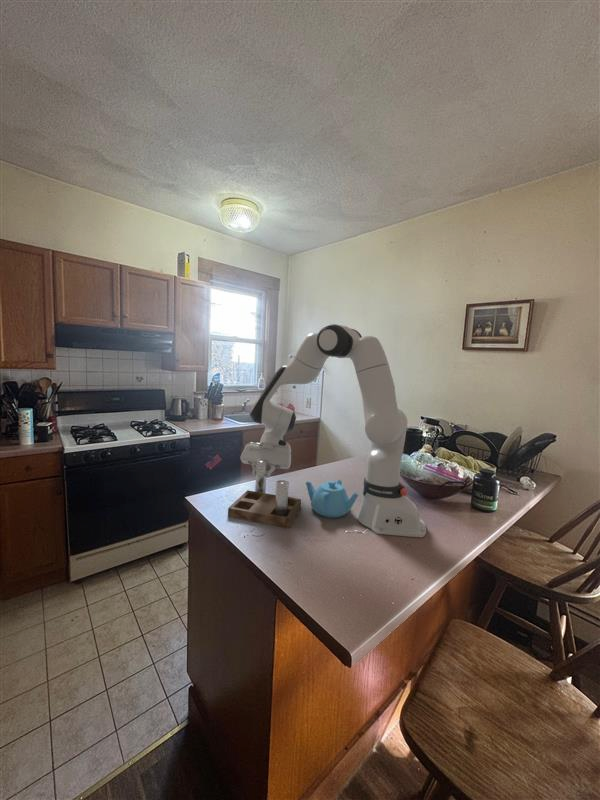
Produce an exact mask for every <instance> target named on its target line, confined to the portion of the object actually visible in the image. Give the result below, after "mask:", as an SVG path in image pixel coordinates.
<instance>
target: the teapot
mask: <svg viewBox="0 0 600 800" xmlns="http://www.w3.org/2000/svg"><path fill="white" fill-rule="evenodd" d="M305 485H306V490H307V493H308V496H309V500H310V501H311V502H310V505H311V508H312V510H313V511H314V512H315V513H316V514H317V515H320V516H322V517H325V518H330V519H335V518H336V519H337V518H342V517H343V516H345V515H346V514H347V513H348V512H349V511H350V510H351V509H352V507H353V505H354V504H355V502H356V500H357V498H358V497H359V493H357V492H353V494H352V495H351V497H350V498H349V496H348V494H347V490H346V489H345V488H344V487H343V480H341V479H338V480H337V482H336V481H334V480H328V481H327V482H322V483H321V484H320V485H319V486H318V487H317V488H316V489H315V487H314V485H313V484H312V481H306V482H305Z"/></svg>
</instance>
